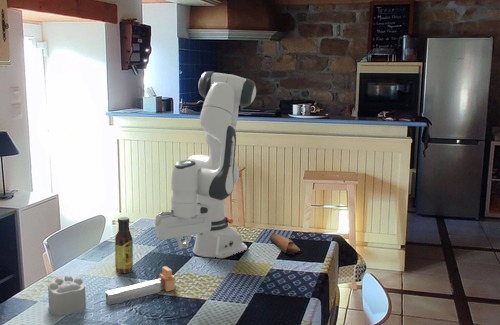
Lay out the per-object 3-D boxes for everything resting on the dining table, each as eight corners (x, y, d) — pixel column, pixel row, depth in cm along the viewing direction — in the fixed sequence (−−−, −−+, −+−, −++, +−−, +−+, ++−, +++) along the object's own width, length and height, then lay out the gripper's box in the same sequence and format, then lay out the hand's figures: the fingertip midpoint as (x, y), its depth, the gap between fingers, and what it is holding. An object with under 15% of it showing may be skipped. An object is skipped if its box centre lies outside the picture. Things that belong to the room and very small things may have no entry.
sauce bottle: (128, 275, 194) (127, 222, 190) (112, 273, 195) (111, 220, 191) (136, 268, 200) (135, 216, 196) (120, 266, 201) (119, 215, 197)
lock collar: (167, 283, 186) (167, 265, 185) (174, 289, 182) (174, 270, 181) (159, 285, 185) (159, 266, 183) (166, 291, 180) (166, 272, 179)
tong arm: (159, 290, 182) (159, 280, 181) (160, 291, 181) (160, 281, 180) (107, 303, 171) (107, 293, 170) (109, 305, 170) (108, 294, 169)
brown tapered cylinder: (304, 253, 219) (297, 240, 217) (290, 263, 218) (283, 250, 216) (287, 238, 236) (280, 226, 234) (274, 247, 235) (267, 236, 232)
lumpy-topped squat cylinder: (53, 318, 162) (52, 291, 160) (45, 300, 172) (44, 275, 171) (88, 310, 167) (87, 284, 165) (78, 294, 178) (77, 269, 176)
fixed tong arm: (172, 285, 186) (172, 275, 186) (174, 286, 185) (174, 276, 185) (105, 302, 172) (105, 291, 172) (107, 303, 171) (107, 292, 171)
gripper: (160, 215, 173) (159, 256, 175) (214, 207, 185) (213, 246, 187) (151, 210, 178) (151, 250, 180) (204, 203, 190) (203, 240, 192)
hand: (183, 248), depth 184 cm, fingers closed
